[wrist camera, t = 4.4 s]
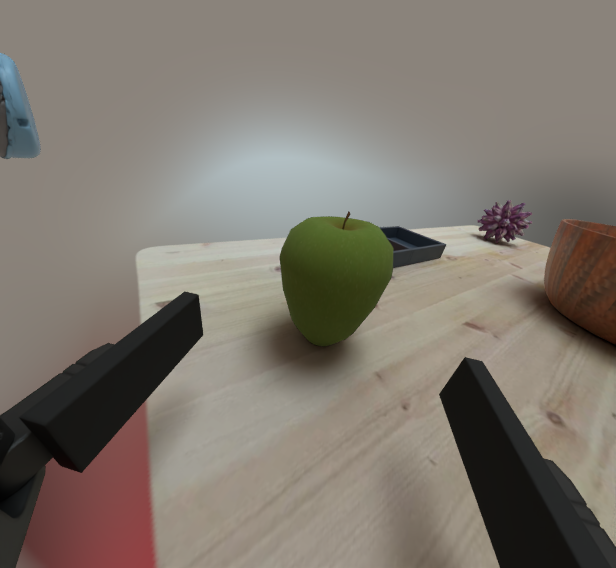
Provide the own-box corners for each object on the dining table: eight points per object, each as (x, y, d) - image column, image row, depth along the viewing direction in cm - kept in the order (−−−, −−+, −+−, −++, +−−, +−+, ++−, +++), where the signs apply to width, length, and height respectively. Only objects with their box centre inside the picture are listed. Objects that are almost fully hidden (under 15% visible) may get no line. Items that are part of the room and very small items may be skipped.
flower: (473, 237, 74) (522, 241, 67) (471, 243, 65) (527, 248, 58) (483, 199, 70) (535, 200, 63) (482, 200, 61) (543, 200, 54)
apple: (336, 303, 26) (361, 200, 21) (384, 358, 20) (441, 230, 14) (262, 315, 23) (268, 193, 17) (293, 387, 16) (320, 230, 11)
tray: (362, 274, 34) (367, 257, 33) (317, 246, 42) (320, 230, 41) (440, 257, 46) (446, 244, 45) (394, 238, 54) (398, 226, 53)
